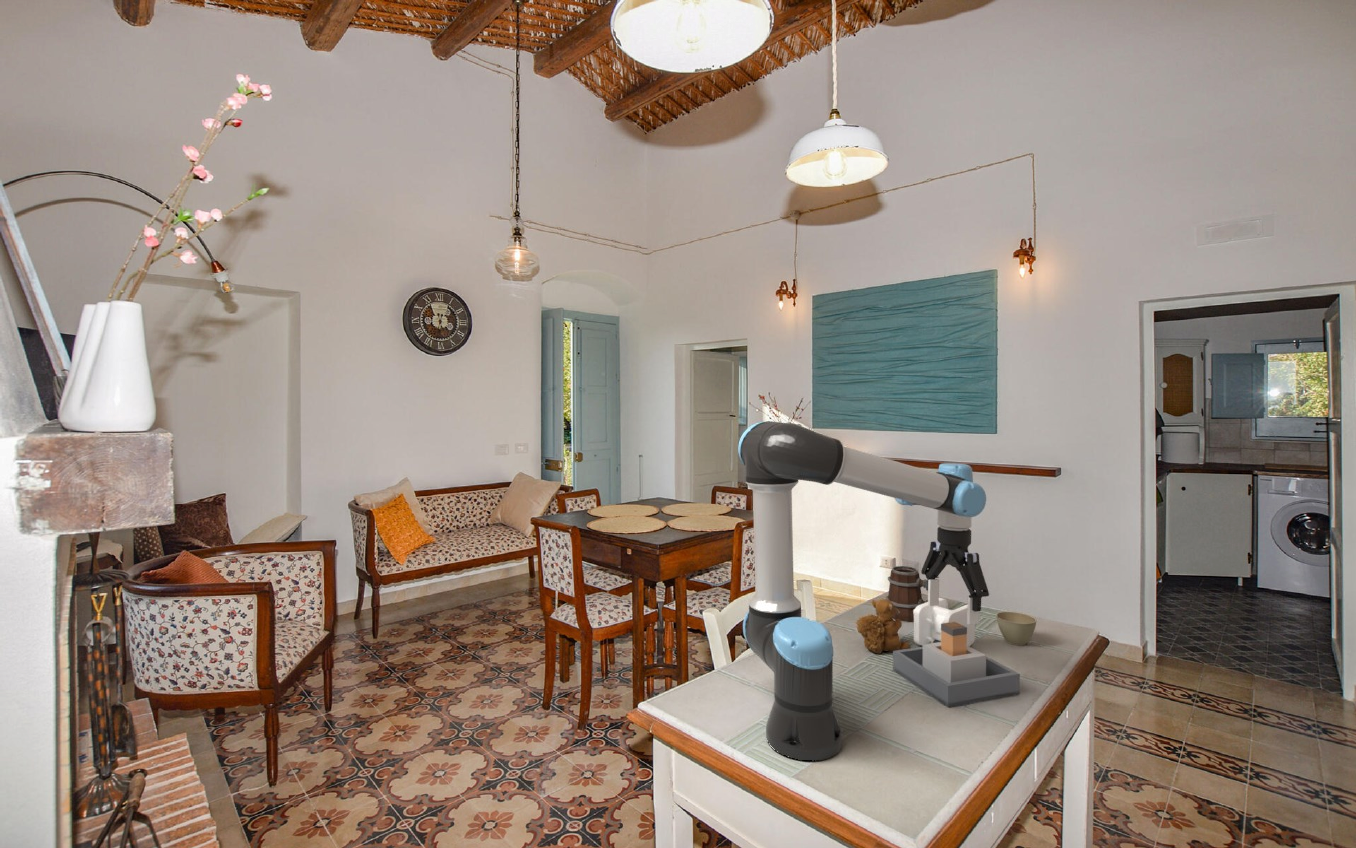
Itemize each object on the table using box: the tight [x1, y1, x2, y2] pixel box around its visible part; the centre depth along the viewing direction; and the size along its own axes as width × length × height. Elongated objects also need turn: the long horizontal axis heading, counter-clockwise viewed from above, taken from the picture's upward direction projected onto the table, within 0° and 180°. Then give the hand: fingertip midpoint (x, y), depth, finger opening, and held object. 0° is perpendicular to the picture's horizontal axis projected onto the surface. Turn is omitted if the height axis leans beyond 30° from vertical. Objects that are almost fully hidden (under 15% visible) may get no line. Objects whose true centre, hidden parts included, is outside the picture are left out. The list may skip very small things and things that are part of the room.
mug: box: [885, 565, 928, 623], centre depth 193 cm, size 16×12×15 cm
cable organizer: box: [913, 597, 976, 647], centre depth 171 cm, size 15×11×12 cm
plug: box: [940, 622, 967, 656], centre depth 149 cm, size 4×4×10 cm
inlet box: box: [892, 641, 1021, 709], centre depth 149 cm, size 20×20×8 cm
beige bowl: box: [995, 611, 1037, 646], centre depth 173 cm, size 10×10×7 cm
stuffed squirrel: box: [854, 598, 911, 655], centre depth 170 cm, size 10×14×13 cm
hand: (952, 614), depth 148 cm, fingers open, 13 cm apart
